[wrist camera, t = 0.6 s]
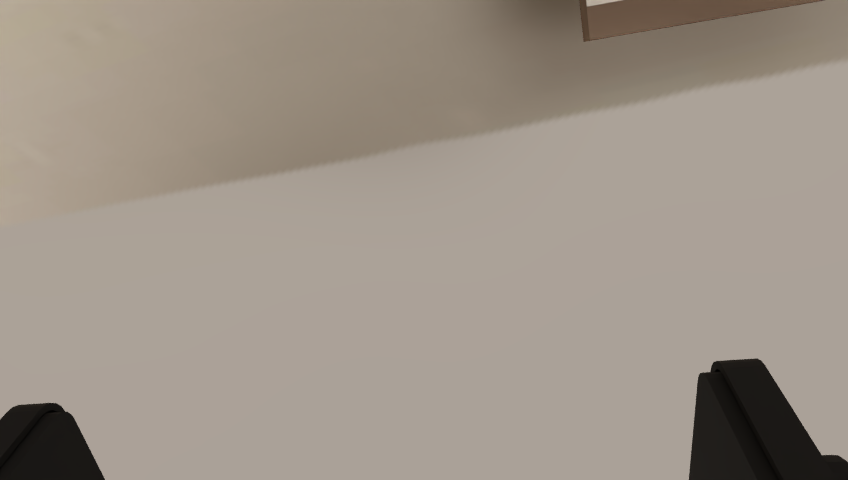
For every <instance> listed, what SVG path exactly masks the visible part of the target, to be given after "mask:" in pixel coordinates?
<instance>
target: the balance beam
mask: <svg viewBox="0 0 848 480" xmlns="http://www.w3.org/2000/svg"><path fill="white" fill-rule="evenodd" d="M817 1H823V0H580V10H581V20H582V30H583V40H584V42H585V41H590V40H596V39H602V38H608V37H614V36H620V35H625V34H631V33H637V32H643V31H649V30H654V29H660V28H666V27H672V26H678V25H684V24H689V23H695V22H701V21H707V20H713V19H718V18H724V17H730V16H736V15H742V14H748V13H753V12H759V11H765V10H771V9H777V8H782V7H788V6H794V5H800V4H806V3H812V2H817Z"/></svg>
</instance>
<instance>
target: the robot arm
mask: <svg viewBox="0 0 848 480" xmlns="http://www.w3.org/2000/svg"><path fill="white" fill-rule="evenodd" d="M0 480H105V479H104V477H103V475H102V473H101V471H100V469H99V467H98V465H97V463H96V461H95V459H94V457H93V455H92V453H91V451H90V449H89V447H88V445H87V443H86V441H85V439H84V437H83V435H82V433H81V431H80V429H79V427H78V425H77V423H76V421H75V419H74V418H73V416H72V415H71V414H70V413H68V412H65V411H64V409H63V408H62V407H61V406H60V405H58V404H56V403H43V404H27V405H18V406H15V407H13V408H11V409H10V410H9V411H8V412H7V413H6V414H5V415H4V416H3V417H2V418H1V420H0ZM689 480H848V462H847V461H846V460H844V459H842V458H841V457H840V456H838V455H821V453H820V452H819V450H818V449H817V447H816V446H815V444H814V442H813V441H812V439H811V438H810V436H809V434H808V433H807V431H806V430H805V429H804V427H803V425H802V423H801V422H800V420H799V419H798V417H797V415H796V414H795V412H794V411H793V409H792V407H791V406H790V404H789V403H788V401H787V400H786V398H785V396H784V395H783V393H782V392H781V390H780V388H779V387H778V385H777V384H776V382H775V381H774V379H773V378H772V376H771V374H770V373H769V371H768V370H767V368H766V367H765V365H764V364H763V363H762V361H761V360H759V359H744V360H727V361H716V362H714V363H713V365H712V367H711V372H707V373H700V375H699V377H698V384H697V396H696V407H695V418H694V429H693V440H692V451H691V463H690V474H689Z"/></svg>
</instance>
